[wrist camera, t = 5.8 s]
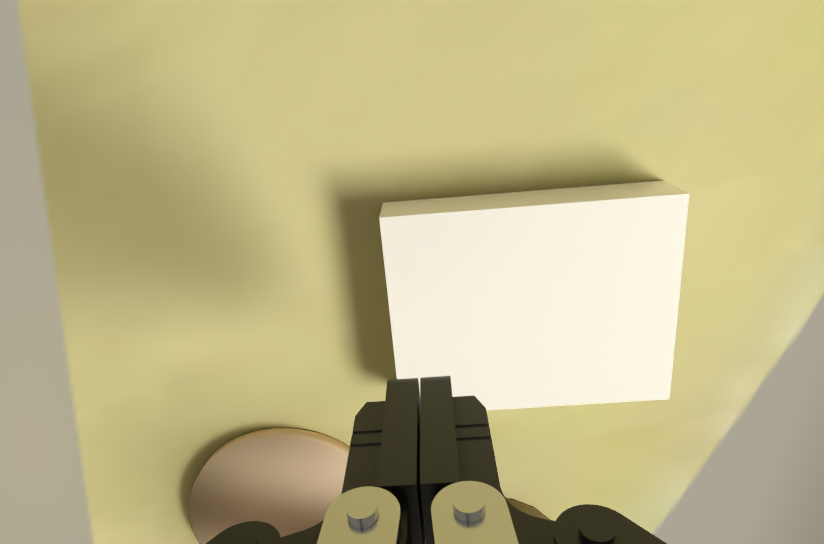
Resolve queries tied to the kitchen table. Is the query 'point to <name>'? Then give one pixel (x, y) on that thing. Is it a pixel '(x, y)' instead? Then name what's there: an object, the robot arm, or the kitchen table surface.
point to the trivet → (268, 482)
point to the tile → (538, 292)
